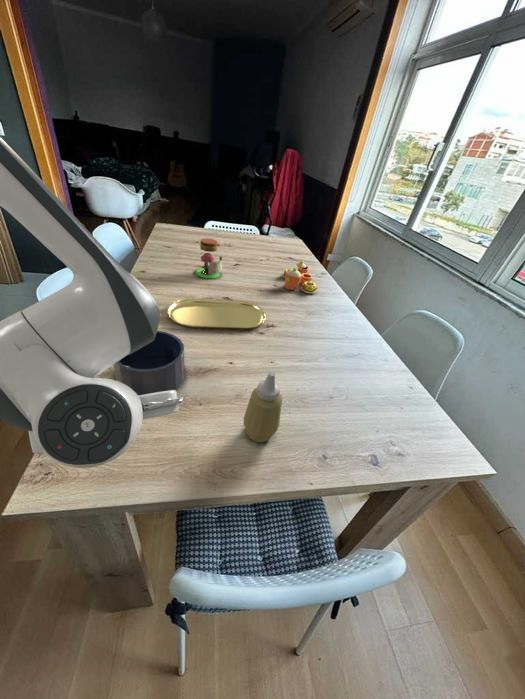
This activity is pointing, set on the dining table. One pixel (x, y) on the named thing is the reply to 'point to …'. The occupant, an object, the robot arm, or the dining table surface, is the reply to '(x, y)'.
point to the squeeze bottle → (263, 410)
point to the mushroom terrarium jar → (209, 260)
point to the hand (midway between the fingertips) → (115, 409)
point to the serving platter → (216, 314)
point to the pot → (153, 366)
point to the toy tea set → (299, 278)
